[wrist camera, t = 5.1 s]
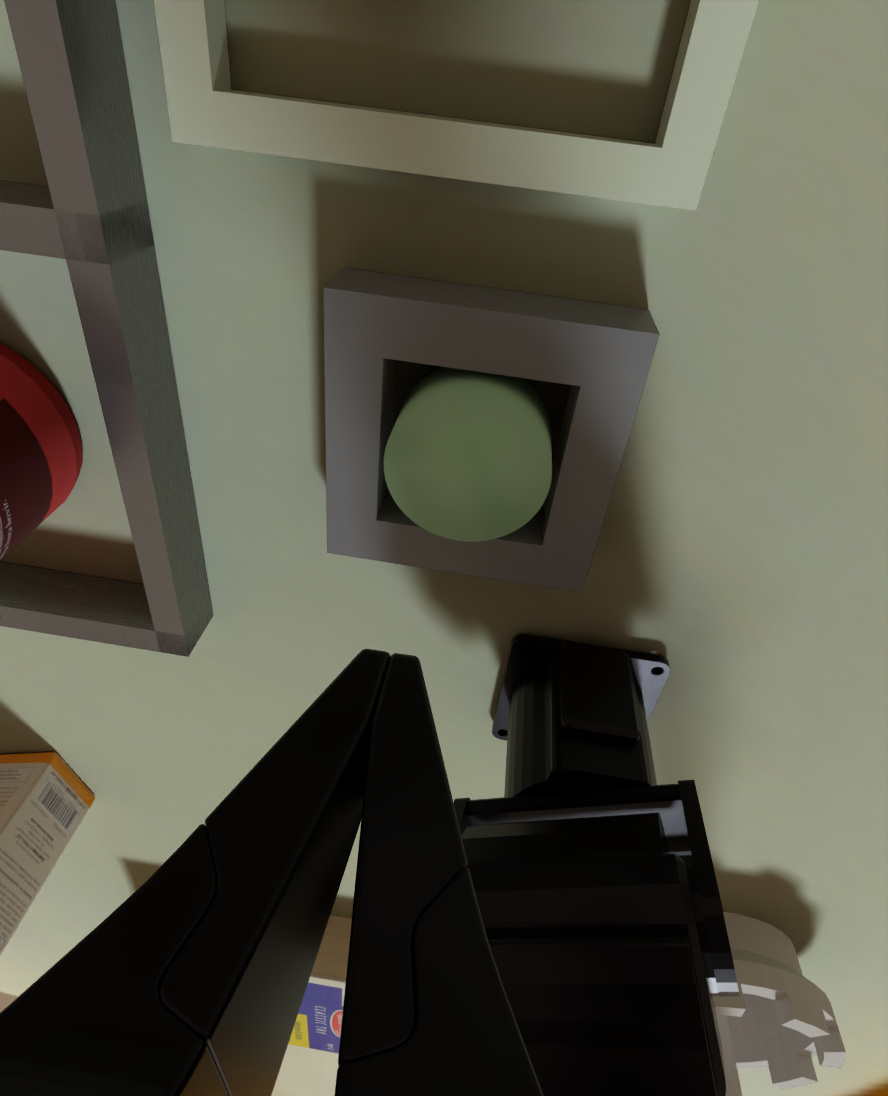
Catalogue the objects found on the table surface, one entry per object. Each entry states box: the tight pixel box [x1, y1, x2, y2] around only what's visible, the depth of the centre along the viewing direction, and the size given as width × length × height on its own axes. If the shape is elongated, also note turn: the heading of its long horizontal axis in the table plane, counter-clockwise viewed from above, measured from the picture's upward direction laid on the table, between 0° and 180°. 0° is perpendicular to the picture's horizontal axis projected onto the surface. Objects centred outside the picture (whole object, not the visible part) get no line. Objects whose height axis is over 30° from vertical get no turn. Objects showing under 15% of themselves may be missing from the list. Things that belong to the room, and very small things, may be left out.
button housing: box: [324, 268, 660, 592], centre depth 21 cm, size 9×9×2 cm
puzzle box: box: [271, 915, 352, 1096], centre depth 54 cm, size 36×5×24 cm
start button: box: [384, 367, 552, 542], centre depth 20 cm, size 5×5×2 cm
